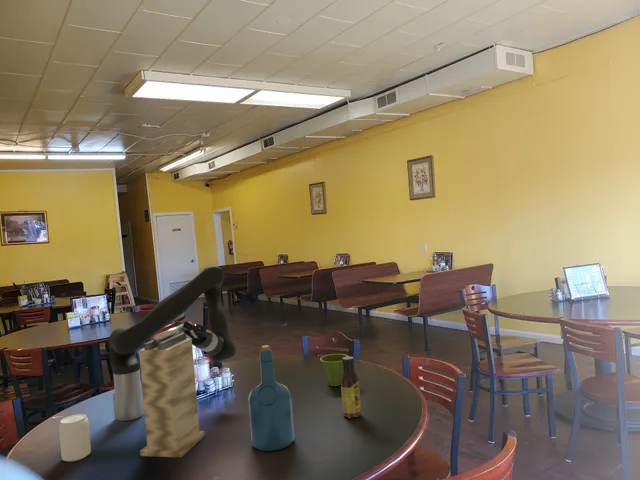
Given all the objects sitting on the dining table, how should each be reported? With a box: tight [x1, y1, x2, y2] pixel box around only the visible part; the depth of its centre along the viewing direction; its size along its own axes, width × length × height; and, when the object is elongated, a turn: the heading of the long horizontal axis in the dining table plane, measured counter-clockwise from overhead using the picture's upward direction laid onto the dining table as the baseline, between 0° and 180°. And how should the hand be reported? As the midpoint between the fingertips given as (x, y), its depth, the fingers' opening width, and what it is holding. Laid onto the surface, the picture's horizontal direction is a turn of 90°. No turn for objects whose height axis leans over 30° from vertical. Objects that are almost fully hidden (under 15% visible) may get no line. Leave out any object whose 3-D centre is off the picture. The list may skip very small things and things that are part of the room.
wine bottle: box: [247, 344, 295, 452], centre depth 144 cm, size 14×13×30 cm
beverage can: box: [58, 413, 92, 463], centre depth 146 cm, size 8×8×12 cm
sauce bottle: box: [340, 356, 362, 418], centre depth 161 cm, size 6×6×20 cm
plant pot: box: [319, 353, 350, 386], centre depth 195 cm, size 12×12×11 cm
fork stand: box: [138, 333, 206, 458], centre depth 148 cm, size 14×15×34 cm
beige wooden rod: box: [152, 321, 193, 343], centre depth 153 cm, size 20×2×2 cm, turn 167°
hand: (180, 323), depth 158 cm, fingers closed on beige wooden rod, 2 cm apart
